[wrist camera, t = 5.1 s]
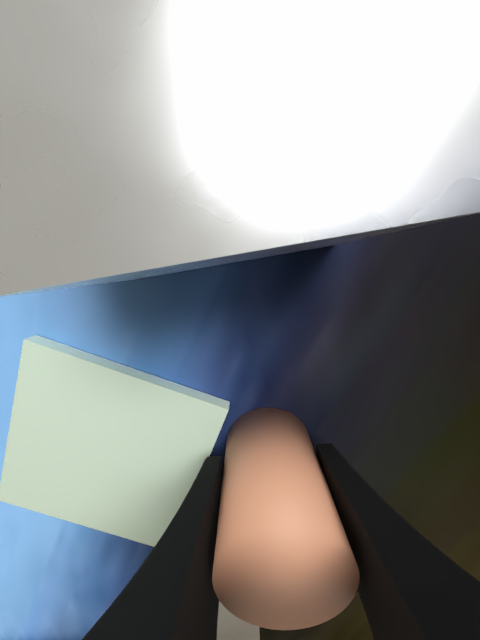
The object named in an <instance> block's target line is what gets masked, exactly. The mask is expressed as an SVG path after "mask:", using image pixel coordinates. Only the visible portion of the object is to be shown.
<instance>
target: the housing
mask: <svg viewBox="0 0 480 640" xmlns="http://www.w3.org/2000/svg"><path fill="white" fill-rule="evenodd" d="M477 213H480V0H0V297H3V296H10V295H18V294H26V293H33V292H41V291H49V290H57V289H64V288H72V287H80V286H88V285H95V284H103V283H111V282H119V281H126V280H134V279H141V278H146V277H152V276H158V275H164V274H170V273H176V272H181V271H187V270H193V269H199V268H205V267H211V266H216V265H222V264H228V263H234V262H240V261H246V260H251V259H257V258H263V257H269V256H275V255H281V254H286V253H292V252H298V251H304V250H310V249H316V248H321V247H327V246H333V245H338V244H342V243H347V242H351V241H356V240H360V239H365V238H369V237H374V236H378V235H383V234H387V233H392V232H396V231H401V230H405V229H410V228H414V227H419V226H423V225H428V224H432V223H437V222H441V221H446V220H450V219H455V218H459V217H464V216H468V215H473V214H477Z"/></svg>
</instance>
